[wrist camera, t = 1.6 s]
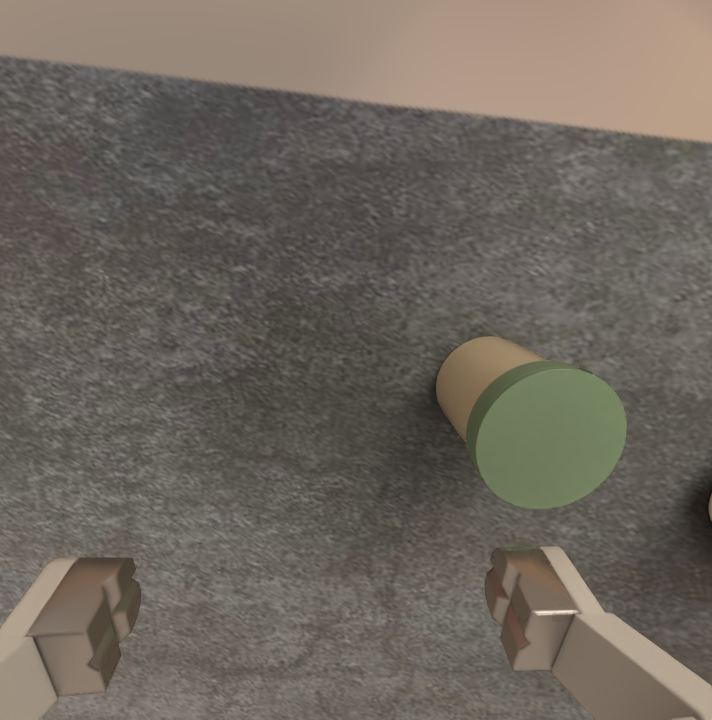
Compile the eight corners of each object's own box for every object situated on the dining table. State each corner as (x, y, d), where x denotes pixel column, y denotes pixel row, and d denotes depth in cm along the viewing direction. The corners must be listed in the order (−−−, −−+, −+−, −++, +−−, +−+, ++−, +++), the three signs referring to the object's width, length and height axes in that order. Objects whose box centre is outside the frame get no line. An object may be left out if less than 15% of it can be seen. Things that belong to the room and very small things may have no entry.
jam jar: (470, 318, 24) (530, 347, 17) (552, 364, 25) (642, 410, 18) (417, 404, 26) (452, 467, 18) (497, 444, 27) (561, 518, 19)
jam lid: (519, 332, 18) (534, 339, 16) (635, 398, 19) (659, 409, 18) (438, 458, 19) (446, 474, 18) (551, 512, 20) (567, 530, 19)
